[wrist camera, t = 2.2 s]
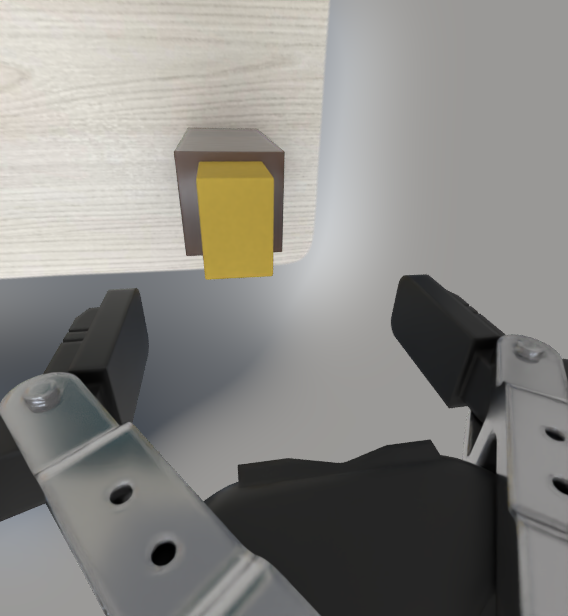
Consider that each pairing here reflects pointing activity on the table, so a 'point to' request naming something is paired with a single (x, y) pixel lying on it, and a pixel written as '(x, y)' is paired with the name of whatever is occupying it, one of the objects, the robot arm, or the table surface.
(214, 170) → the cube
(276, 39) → the table surface
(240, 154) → the stand
